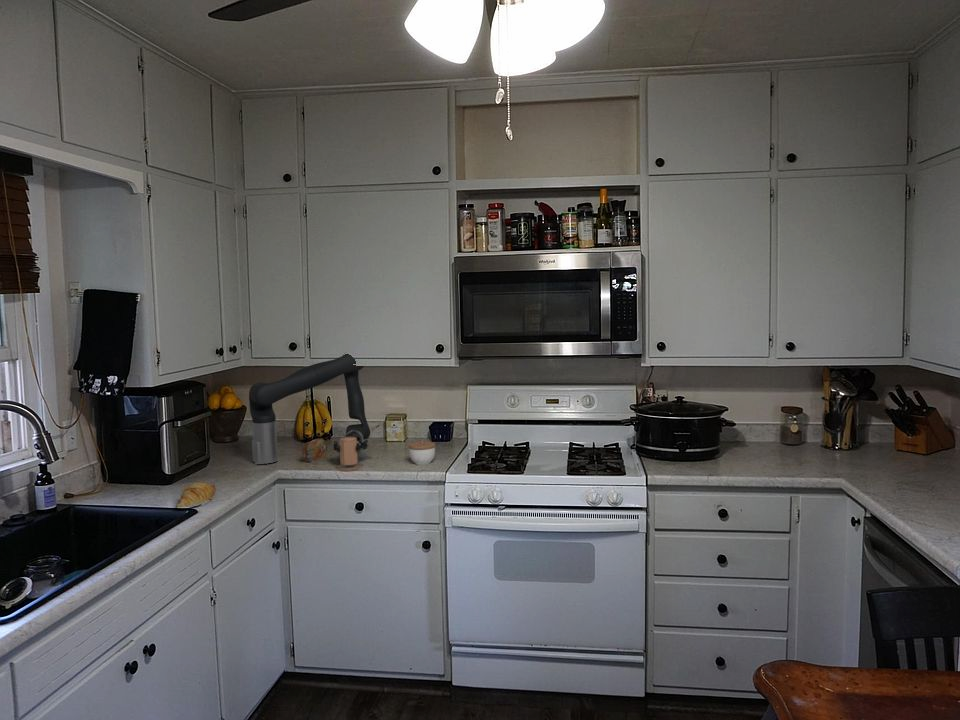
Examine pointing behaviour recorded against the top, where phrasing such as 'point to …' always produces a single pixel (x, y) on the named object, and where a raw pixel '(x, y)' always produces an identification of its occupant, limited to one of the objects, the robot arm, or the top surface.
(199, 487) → the croissant
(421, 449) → the lidded jar
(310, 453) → the mottled brown slab
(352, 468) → the pot lid
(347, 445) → the salmon orange block
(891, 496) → the top surface
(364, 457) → the mat
